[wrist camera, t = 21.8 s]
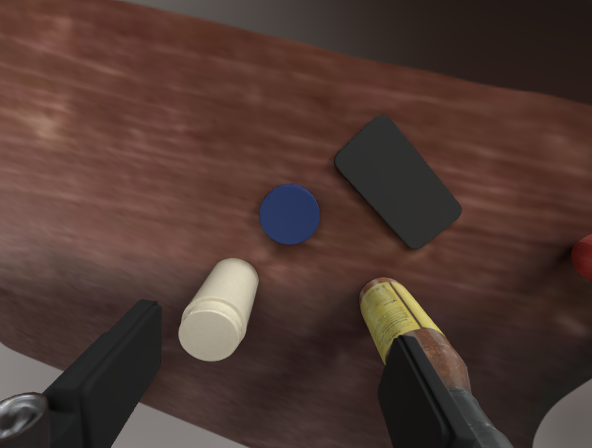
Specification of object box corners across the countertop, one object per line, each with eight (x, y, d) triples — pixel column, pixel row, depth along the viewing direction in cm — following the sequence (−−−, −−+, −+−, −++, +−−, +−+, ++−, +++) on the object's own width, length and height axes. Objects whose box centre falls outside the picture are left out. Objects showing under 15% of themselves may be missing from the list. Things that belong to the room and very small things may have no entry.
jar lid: (250, 198, 32) (248, 202, 30) (304, 173, 31) (305, 175, 29) (276, 248, 34) (275, 254, 32) (328, 225, 33) (330, 230, 31)
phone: (414, 253, 33) (330, 161, 30) (411, 251, 33) (329, 160, 30) (466, 211, 31) (384, 109, 28) (462, 210, 32) (381, 110, 29)
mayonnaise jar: (268, 285, 35) (257, 343, 25) (231, 310, 36) (205, 375, 26) (237, 248, 34) (211, 294, 23) (199, 275, 35) (159, 330, 24)
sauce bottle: (354, 315, 36) (418, 508, 17) (360, 272, 34) (438, 434, 15) (403, 318, 36) (521, 513, 17) (412, 275, 34) (554, 439, 15)
